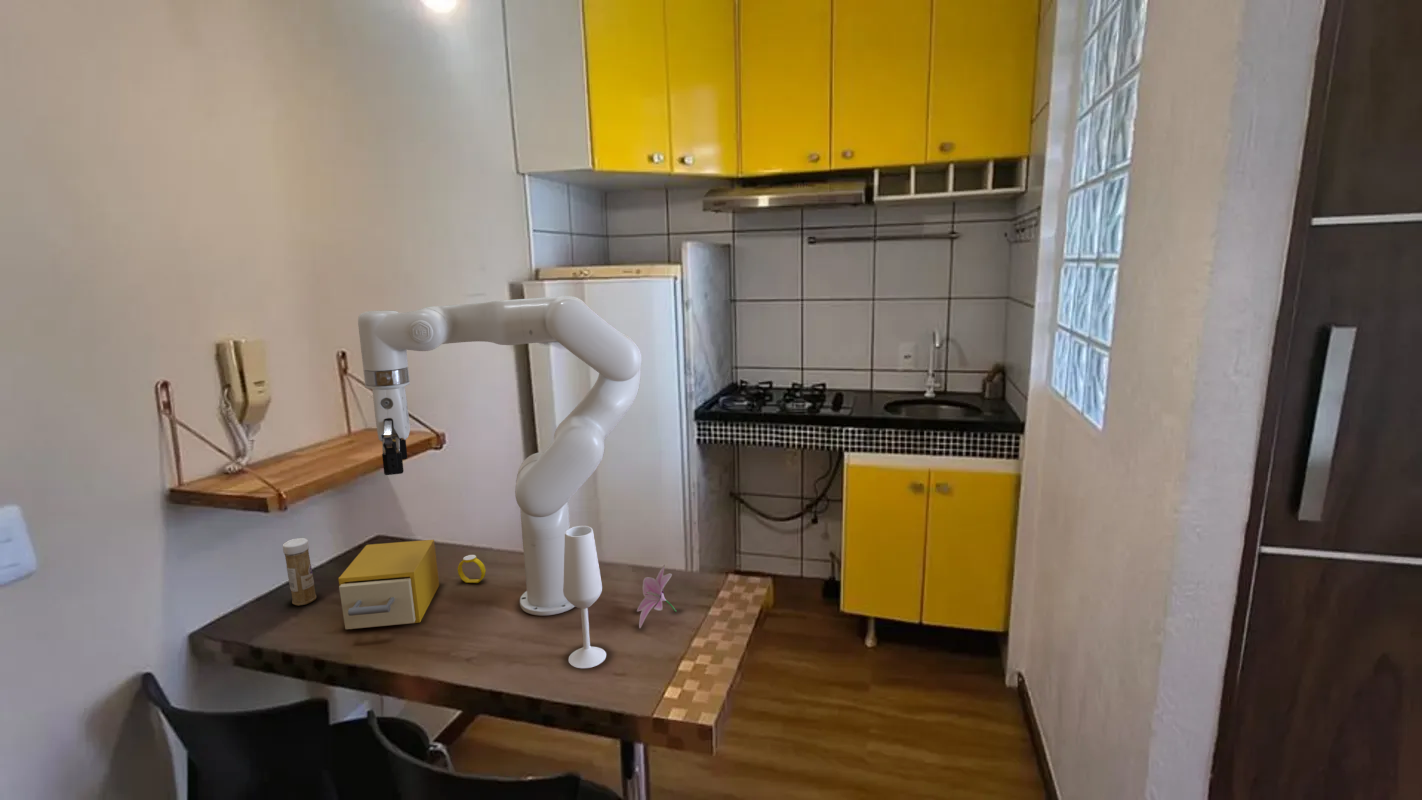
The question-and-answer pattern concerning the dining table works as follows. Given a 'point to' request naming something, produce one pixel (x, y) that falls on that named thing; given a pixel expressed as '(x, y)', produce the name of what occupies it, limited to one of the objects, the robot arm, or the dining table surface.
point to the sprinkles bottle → (299, 571)
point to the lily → (653, 594)
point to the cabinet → (399, 569)
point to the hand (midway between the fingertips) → (396, 466)
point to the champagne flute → (582, 588)
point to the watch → (467, 560)
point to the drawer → (377, 602)
